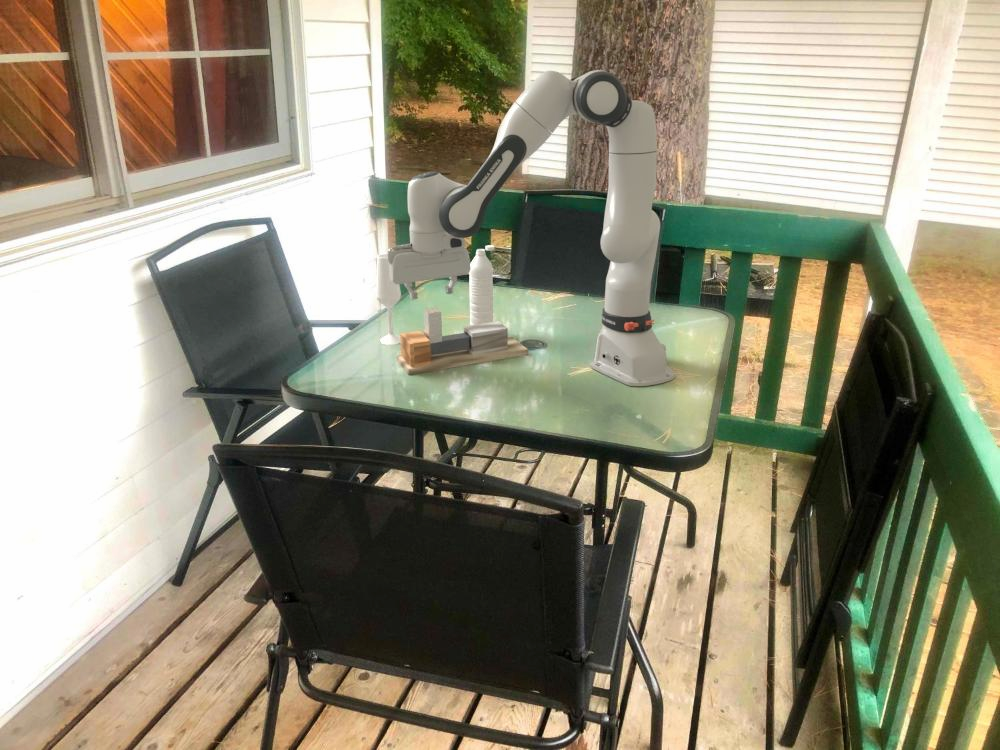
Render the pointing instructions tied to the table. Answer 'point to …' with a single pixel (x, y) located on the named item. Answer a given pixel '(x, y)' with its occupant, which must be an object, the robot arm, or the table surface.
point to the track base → (485, 346)
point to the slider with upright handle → (434, 334)
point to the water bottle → (481, 288)
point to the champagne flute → (387, 295)
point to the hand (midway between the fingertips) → (431, 296)
